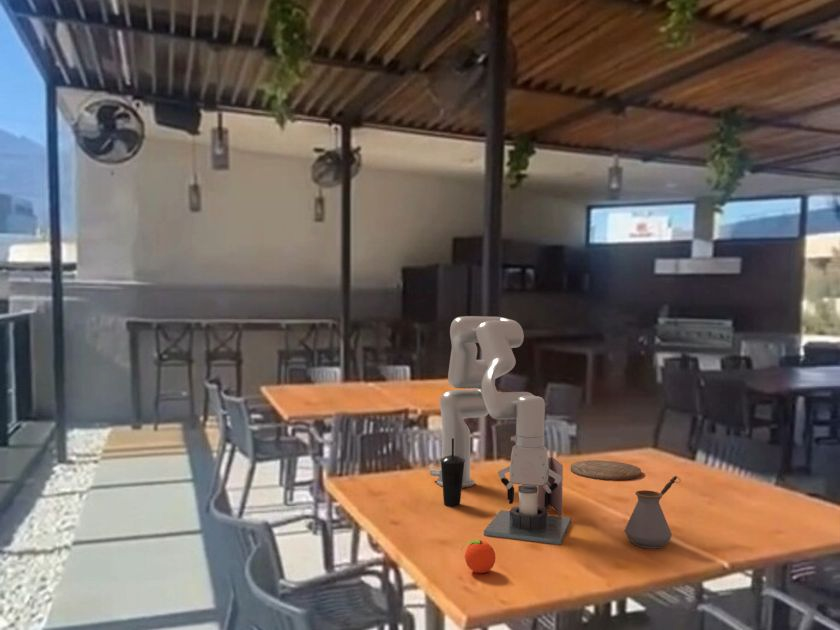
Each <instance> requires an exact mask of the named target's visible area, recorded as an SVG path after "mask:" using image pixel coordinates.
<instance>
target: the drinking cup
mask: <svg viewBox="0 0 840 630" xmlns="http://www.w3.org/2000/svg"><path fill="white" fill-rule="evenodd" d="M439 462H440V469H441V470H442V484H443V486H442V496H443V505H444V506H446V507H450V508H451V507H453V508H454V507H456V508H457V507H460V505H461V497H462V489H463V488H462V480H463V470H464V462H465V459H463V458H461V457H459V456H456V455H454V439H453V438H452V455H449V456H445V457H443V458H442V457H441V458H440V459H439Z"/></svg>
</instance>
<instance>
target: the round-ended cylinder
mask: <svg viewBox="0 0 840 630" xmlns="http://www.w3.org/2000/svg"><path fill="white" fill-rule="evenodd" d="M517 488H518V506H519V513H520V514H524V515H538V512H537V507H538V486H531V485H521V484H519V485H518V487H517Z"/></svg>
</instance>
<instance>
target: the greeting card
mask: <svg viewBox="0 0 840 630" xmlns="http://www.w3.org/2000/svg"><path fill="white" fill-rule="evenodd" d="M548 465H549V469H550V470H552V471H554V472H555V473H557V474H558V475H560V476H562V479H561V481H560V483H559V484H558V486H557V487H556V488H555V489H554V490H553V491H552V492H551V504H549V506H548V508H545V492H546V490H545V489H544V487H543V486H537V487H538V492H537V507H539V508H543V509H545V510H546V511H547V509H549V508H550V507H551V508H552V507H553V508H554V509H555V510H554V509H553V508H552V509H553V510H554V511H555V512H556V513H557V514H558V516H559V517H563V479H564V477H563V475H564V474H563V473H564V472H563V471H564V467H563V464H562V463H561V462H560V461H558V460H557V459H556V458H554V456H550V457H548ZM548 482H549V484H550V485H552V484H553V483H554V482H555V479H554V478H553V477H551V476H549V480H548Z"/></svg>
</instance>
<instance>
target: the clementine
mask: <svg viewBox="0 0 840 630" xmlns="http://www.w3.org/2000/svg"><path fill="white" fill-rule="evenodd" d="M467 544H469V545H468V546H467V547H466V550H465V554H464V559H465V564H466V566H467V567H468V568H469V569H470V571H472V572H474V573H476V574H485V573H487V572H489V571H490V570H492V569H493V567H494V566H495V563H496V559H497V557H496V552H495V550H494V548H493V546H492V545H491V544H490V543H488V542H487V541H483V540H471V541H468V542H466V543H465V545H467ZM463 549H464V546H462V548H461V551H462V550H463Z"/></svg>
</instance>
